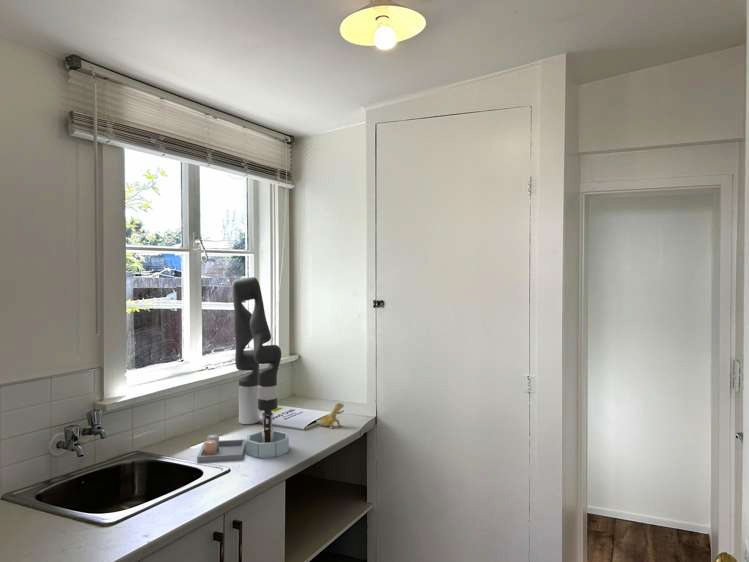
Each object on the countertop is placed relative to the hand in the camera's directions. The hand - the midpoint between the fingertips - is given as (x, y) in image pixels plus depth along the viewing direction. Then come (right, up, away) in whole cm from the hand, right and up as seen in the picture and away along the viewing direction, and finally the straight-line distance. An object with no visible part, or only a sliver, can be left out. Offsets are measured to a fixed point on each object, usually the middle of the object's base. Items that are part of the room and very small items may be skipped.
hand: (267, 440), depth 206 cm
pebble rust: (-20, -4, -7) cm, 22 cm away
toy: (+21, -4, +32) cm, 38 cm away
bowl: (0, -4, 0) cm, 4 cm away
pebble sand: (0, -1, 0) cm, 1 cm away
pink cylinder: (-21, -4, 0) cm, 22 cm away
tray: (-17, -4, -3) cm, 18 cm away
